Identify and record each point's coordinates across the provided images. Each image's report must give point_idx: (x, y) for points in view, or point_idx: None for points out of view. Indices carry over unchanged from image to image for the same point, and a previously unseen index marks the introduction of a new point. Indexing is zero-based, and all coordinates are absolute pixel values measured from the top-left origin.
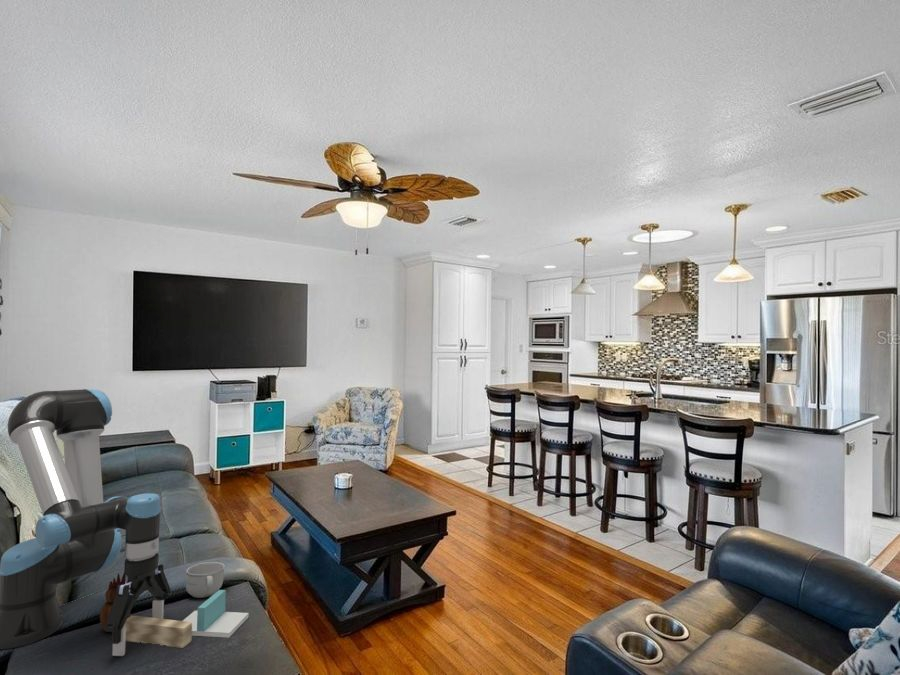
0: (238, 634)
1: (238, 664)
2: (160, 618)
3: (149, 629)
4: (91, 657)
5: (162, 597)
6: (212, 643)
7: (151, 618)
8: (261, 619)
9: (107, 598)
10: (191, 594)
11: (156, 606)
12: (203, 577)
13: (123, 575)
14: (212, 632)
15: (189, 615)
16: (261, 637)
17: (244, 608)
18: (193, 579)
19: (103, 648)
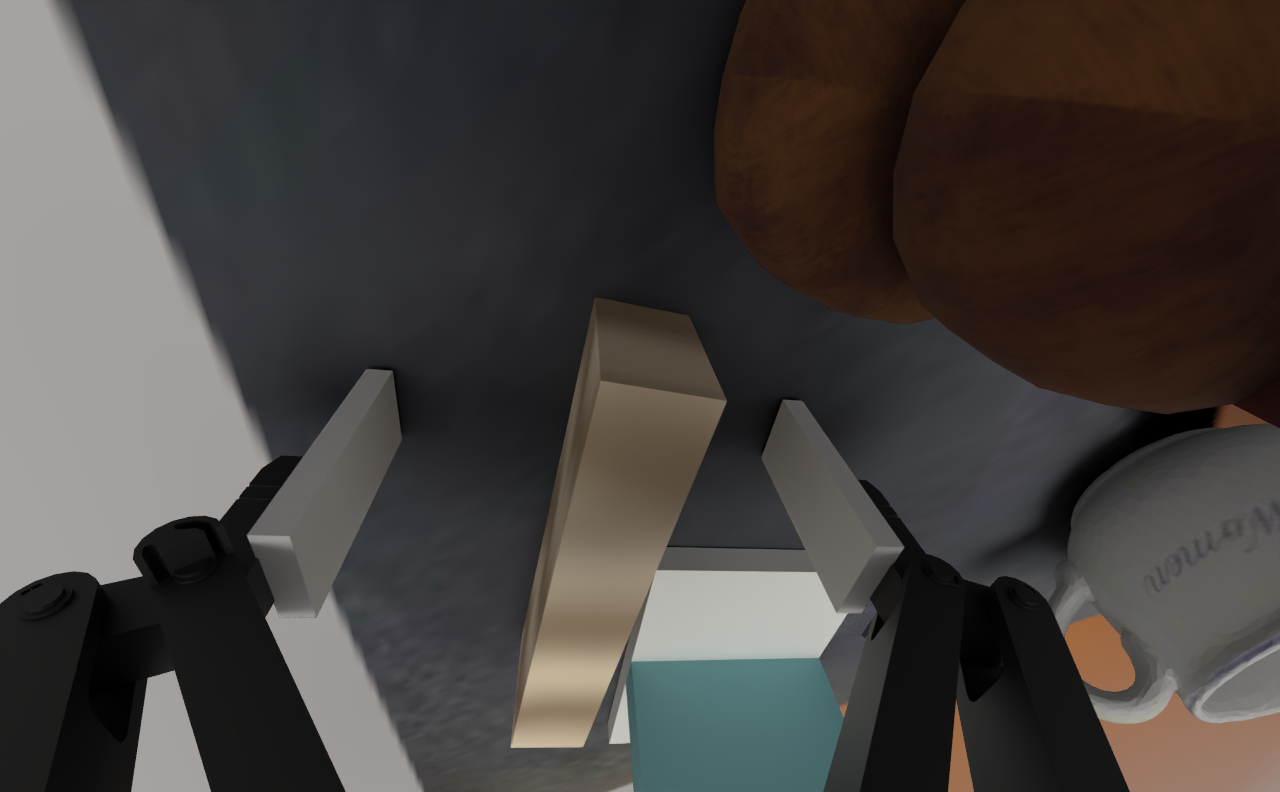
0: None
1: (438, 786)
2: (781, 487)
3: (548, 568)
4: (310, 198)
5: (867, 637)
6: None
7: (644, 568)
8: None
9: (1005, 1)
10: (1117, 487)
11: (834, 532)
12: (1182, 667)
13: None
14: (619, 702)
15: (813, 574)
16: (606, 776)
17: (850, 682)
18: (1219, 606)
19: (461, 215)
